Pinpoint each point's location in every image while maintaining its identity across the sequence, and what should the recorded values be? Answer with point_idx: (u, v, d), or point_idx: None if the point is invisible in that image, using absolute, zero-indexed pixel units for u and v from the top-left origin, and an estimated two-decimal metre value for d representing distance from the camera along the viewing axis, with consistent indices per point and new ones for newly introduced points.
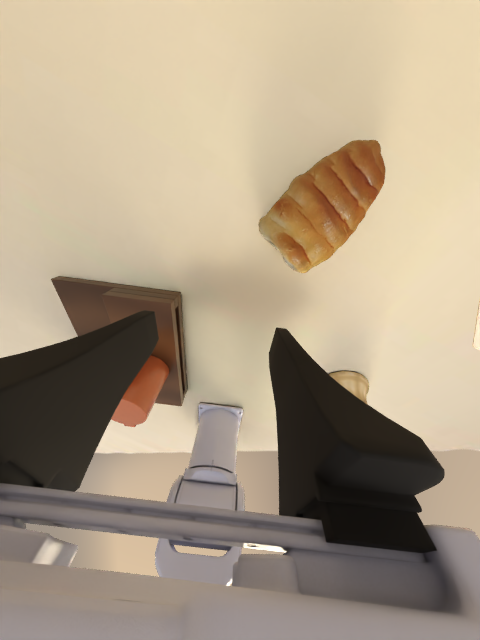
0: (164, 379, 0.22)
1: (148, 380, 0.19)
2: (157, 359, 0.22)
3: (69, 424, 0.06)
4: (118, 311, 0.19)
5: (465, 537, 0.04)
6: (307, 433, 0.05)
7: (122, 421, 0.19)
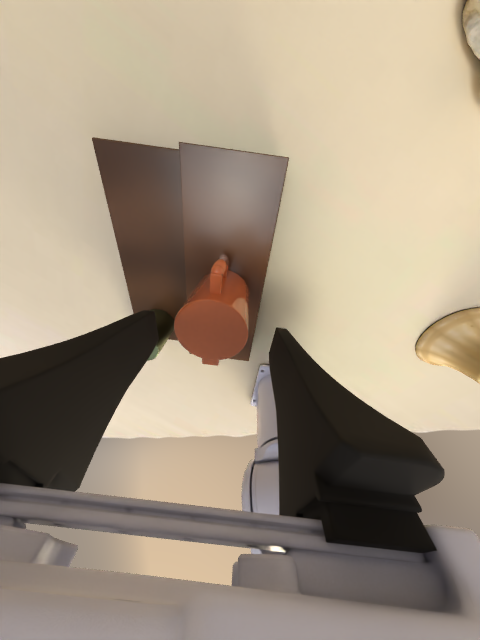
0: None
1: (240, 292, 0.13)
2: (239, 276, 0.15)
3: (69, 424, 0.06)
4: (198, 179, 0.12)
5: (466, 537, 0.04)
6: (307, 433, 0.05)
7: (203, 353, 0.12)
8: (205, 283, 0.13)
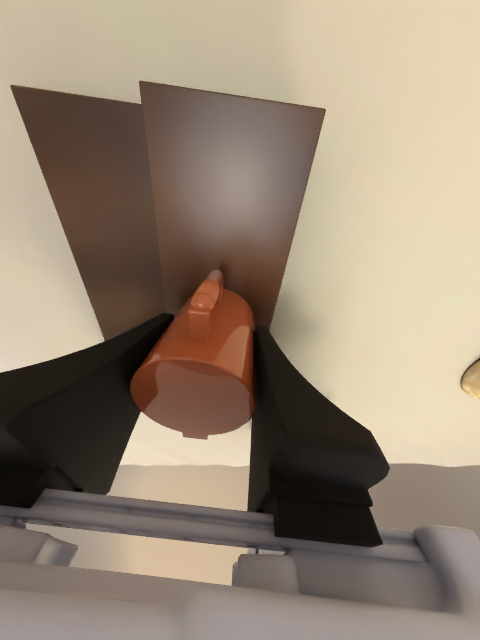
0: None
1: (241, 329, 0.08)
2: (239, 297, 0.11)
3: (103, 428, 0.06)
4: (175, 149, 0.07)
5: (465, 536, 0.04)
6: (267, 428, 0.05)
7: (182, 427, 0.08)
8: (187, 314, 0.08)
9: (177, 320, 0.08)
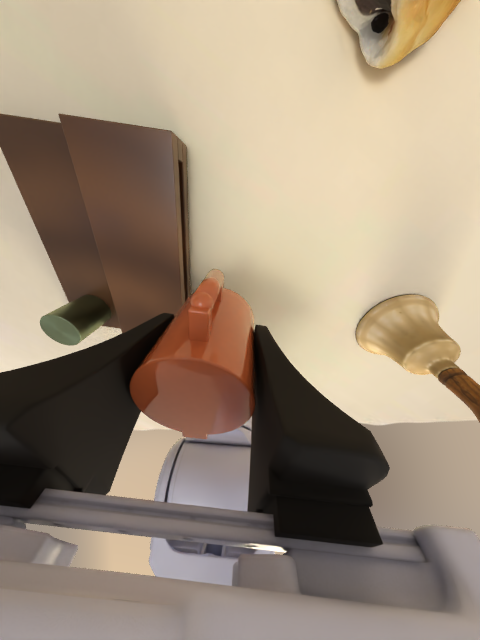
0: None
1: (241, 328, 0.08)
2: (239, 296, 0.11)
3: (103, 428, 0.06)
4: (87, 154, 0.12)
5: (466, 537, 0.04)
6: (267, 428, 0.05)
7: (182, 426, 0.08)
8: (186, 314, 0.08)
9: (177, 319, 0.08)
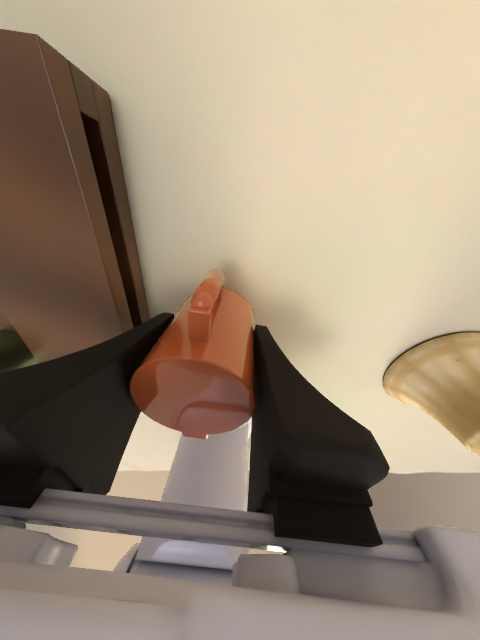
0: None
1: (242, 328, 0.08)
2: (239, 296, 0.11)
3: (103, 428, 0.06)
4: None
5: (466, 537, 0.04)
6: (267, 428, 0.05)
7: (182, 426, 0.08)
8: (187, 314, 0.08)
9: (177, 319, 0.08)
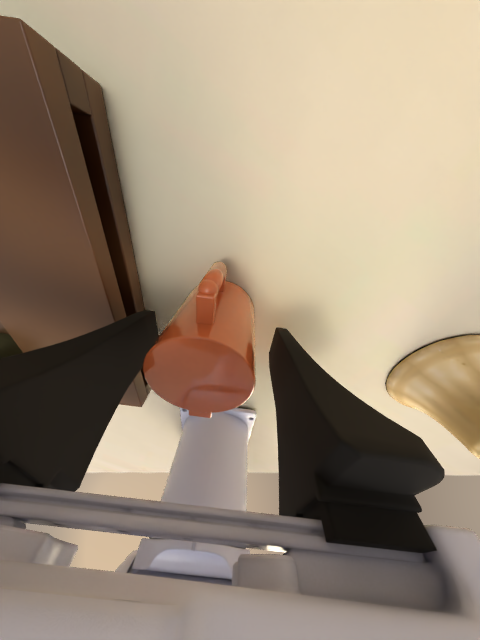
0: None
1: (243, 316, 0.09)
2: (240, 289, 0.11)
3: (69, 424, 0.06)
4: None
5: (466, 537, 0.04)
6: (307, 433, 0.05)
7: (189, 405, 0.09)
8: (193, 302, 0.09)
9: (184, 308, 0.09)
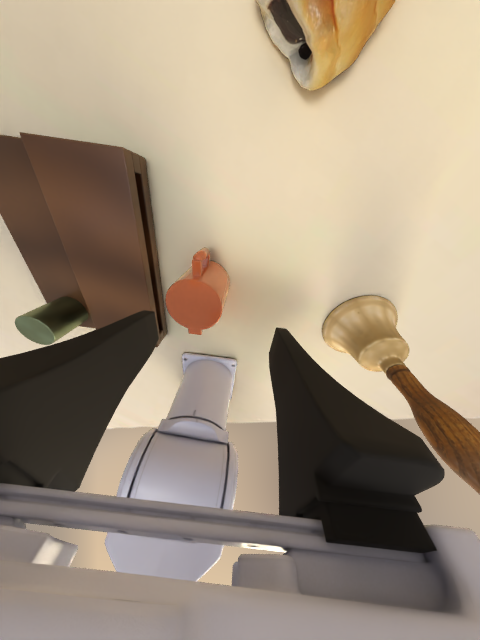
0: (228, 289, 0.19)
1: (218, 277, 0.16)
2: (220, 265, 0.19)
3: (69, 424, 0.06)
4: (49, 168, 0.13)
5: (466, 537, 0.04)
6: (307, 433, 0.05)
7: (188, 324, 0.16)
8: (190, 269, 0.16)
9: (186, 272, 0.16)
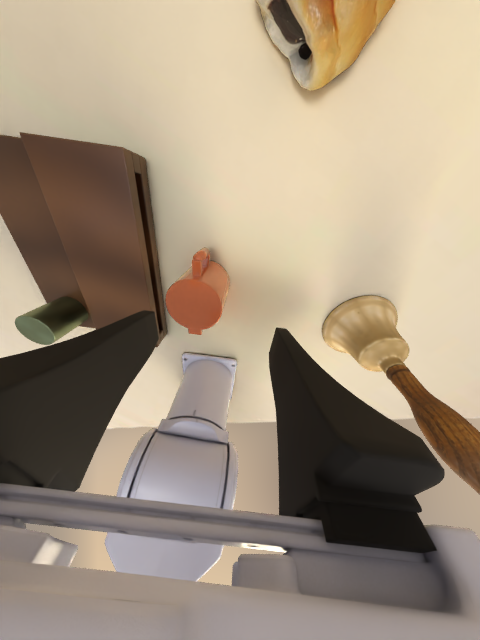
0: (228, 289, 0.19)
1: (218, 277, 0.16)
2: (220, 265, 0.19)
3: (69, 424, 0.06)
4: (49, 168, 0.13)
5: (466, 537, 0.04)
6: (307, 433, 0.05)
7: (188, 324, 0.16)
8: (190, 269, 0.16)
9: (186, 272, 0.16)
